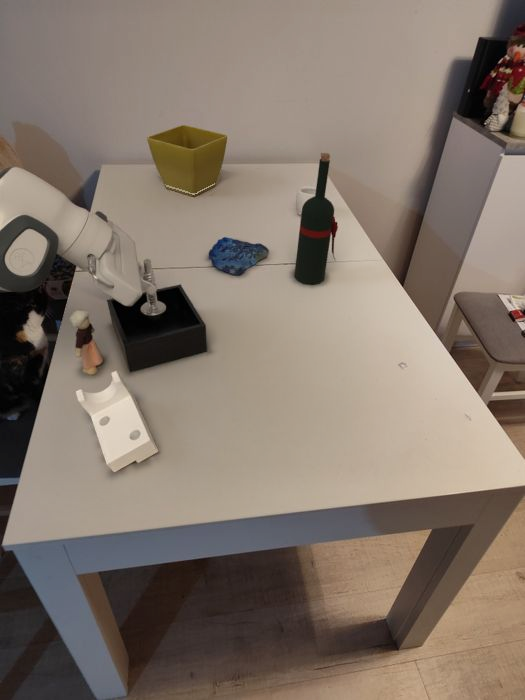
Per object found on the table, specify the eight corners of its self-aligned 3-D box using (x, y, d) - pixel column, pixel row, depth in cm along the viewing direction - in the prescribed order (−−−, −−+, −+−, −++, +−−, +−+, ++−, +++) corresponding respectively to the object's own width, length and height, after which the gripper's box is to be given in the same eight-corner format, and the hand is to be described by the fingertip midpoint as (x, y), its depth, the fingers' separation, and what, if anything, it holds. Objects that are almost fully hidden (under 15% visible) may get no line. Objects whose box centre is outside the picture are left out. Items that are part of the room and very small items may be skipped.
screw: (168, 310, 91) (164, 324, 87) (145, 308, 91) (139, 323, 87) (162, 252, 82) (157, 266, 78) (136, 251, 82) (129, 264, 78)
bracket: (96, 417, 77) (75, 391, 72) (134, 397, 79) (116, 370, 73) (116, 475, 69) (94, 451, 63) (158, 451, 70) (140, 426, 65)
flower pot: (195, 203, 145) (192, 149, 134) (151, 189, 152) (145, 136, 141) (228, 185, 157) (228, 135, 146) (186, 173, 164) (183, 124, 153)
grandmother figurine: (101, 377, 83) (86, 324, 75) (79, 379, 82) (62, 325, 74) (106, 351, 89) (93, 298, 80) (86, 352, 88) (71, 299, 80)
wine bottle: (336, 284, 111) (359, 160, 92) (296, 285, 110) (310, 160, 91) (329, 268, 117) (349, 148, 98) (291, 268, 116) (303, 148, 96)
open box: (129, 372, 84) (124, 345, 80) (112, 326, 95) (106, 299, 90) (207, 351, 90) (205, 325, 85) (182, 309, 100) (180, 284, 96)
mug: (324, 219, 140) (328, 194, 135) (299, 221, 138) (301, 196, 133) (312, 203, 149) (315, 180, 144) (287, 205, 147) (290, 181, 142)
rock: (273, 252, 122) (273, 246, 120) (237, 280, 111) (237, 273, 110) (229, 238, 128) (229, 231, 126) (191, 263, 117) (190, 256, 115)
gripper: (100, 260, 67) (171, 305, 76) (99, 205, 82) (158, 248, 90) (76, 288, 69) (148, 329, 78) (78, 230, 84) (139, 270, 92)
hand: (153, 285), depth 84 cm, fingers closed on screw, 2 cm apart
